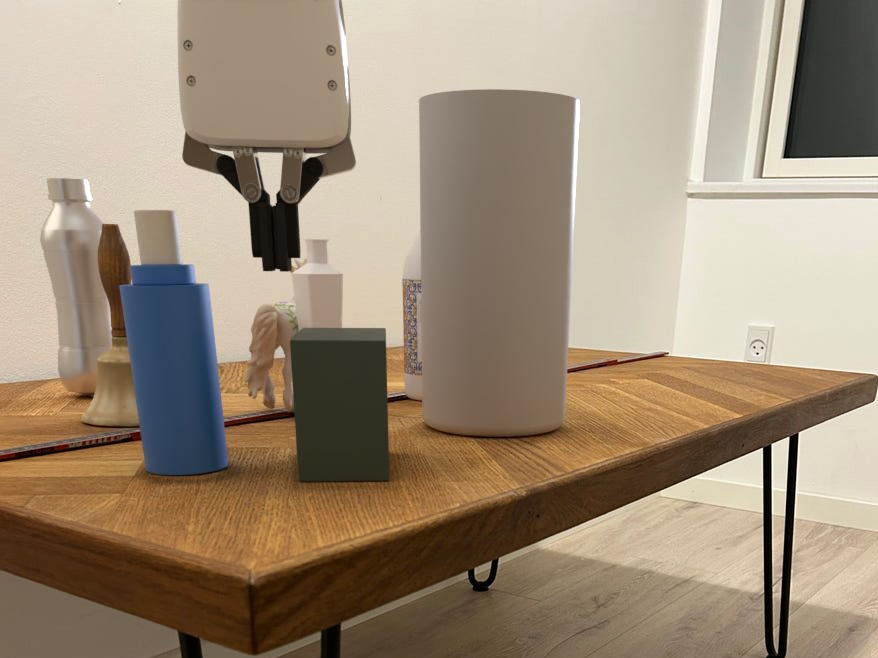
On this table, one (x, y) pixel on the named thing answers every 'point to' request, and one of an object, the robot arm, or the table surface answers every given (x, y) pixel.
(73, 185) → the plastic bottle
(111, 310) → the hand bell
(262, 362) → the unicorn figurine
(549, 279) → the cylinder vase
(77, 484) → the table surface
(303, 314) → the perfume bottle
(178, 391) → the blue bottle
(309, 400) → the green block
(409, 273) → the bath foam
